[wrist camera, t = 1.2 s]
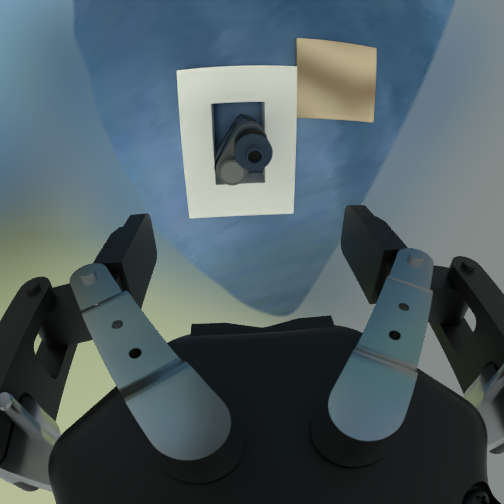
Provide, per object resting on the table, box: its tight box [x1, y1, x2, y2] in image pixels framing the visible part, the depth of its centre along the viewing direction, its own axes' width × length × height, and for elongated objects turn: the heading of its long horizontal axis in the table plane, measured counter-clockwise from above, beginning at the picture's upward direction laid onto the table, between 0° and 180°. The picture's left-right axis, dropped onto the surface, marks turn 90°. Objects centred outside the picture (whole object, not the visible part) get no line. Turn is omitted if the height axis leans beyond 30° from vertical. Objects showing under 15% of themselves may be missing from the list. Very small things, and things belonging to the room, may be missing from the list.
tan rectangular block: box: [296, 38, 377, 123], centre depth 25 cm, size 8×8×1 cm
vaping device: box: [214, 114, 273, 186], centre depth 23 cm, size 3×5×12 cm, turn 148°
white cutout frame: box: [177, 65, 297, 218], centre depth 27 cm, size 14×10×3 cm
